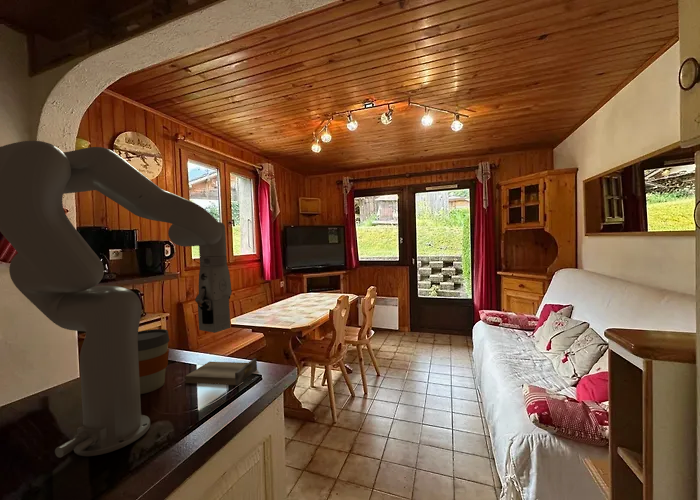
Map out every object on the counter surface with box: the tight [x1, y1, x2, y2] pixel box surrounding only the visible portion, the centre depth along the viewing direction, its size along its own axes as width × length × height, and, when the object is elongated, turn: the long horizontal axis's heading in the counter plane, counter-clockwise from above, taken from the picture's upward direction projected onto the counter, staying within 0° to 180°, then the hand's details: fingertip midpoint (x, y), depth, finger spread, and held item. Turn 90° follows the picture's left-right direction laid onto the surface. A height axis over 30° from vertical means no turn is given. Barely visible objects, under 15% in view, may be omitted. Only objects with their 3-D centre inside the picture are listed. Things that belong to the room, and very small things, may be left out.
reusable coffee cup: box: [138, 328, 170, 395], centre depth 86 cm, size 13×13×15 cm
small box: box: [197, 295, 231, 334], centre depth 92 cm, size 8×6×10 cm
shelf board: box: [184, 358, 258, 386], centre depth 91 cm, size 11×17×4 cm, turn 80°
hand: (216, 319), depth 92 cm, fingers closed on small box, 7 cm apart
